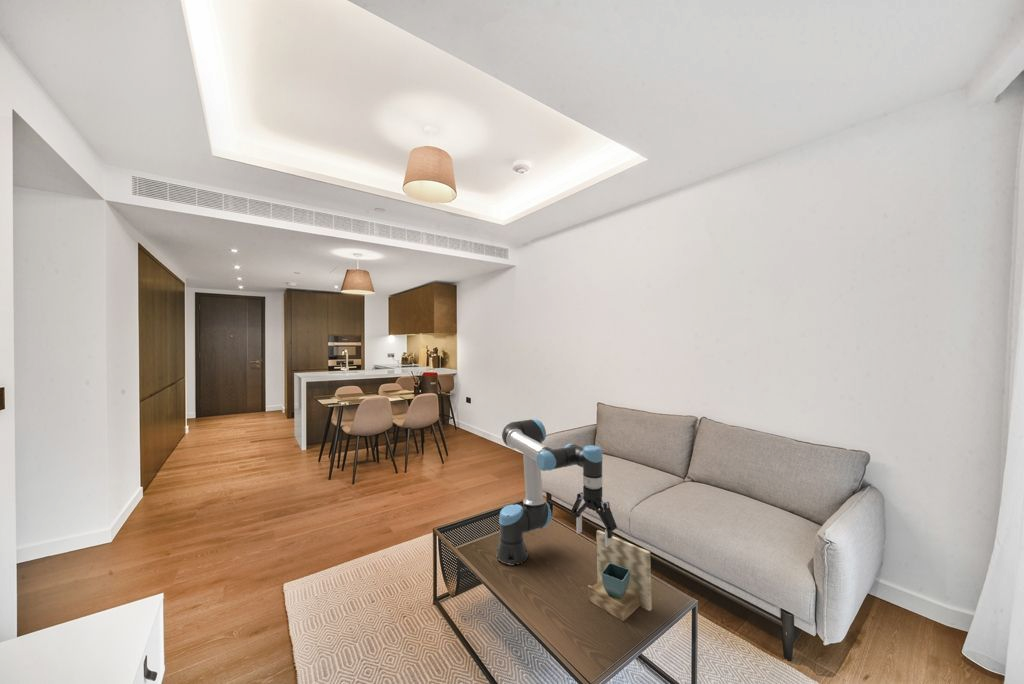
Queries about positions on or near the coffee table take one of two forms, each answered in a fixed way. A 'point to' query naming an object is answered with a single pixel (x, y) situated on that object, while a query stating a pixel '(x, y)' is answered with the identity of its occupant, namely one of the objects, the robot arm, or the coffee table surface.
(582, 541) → the coffee table surface
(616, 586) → the flower pot
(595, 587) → the board
